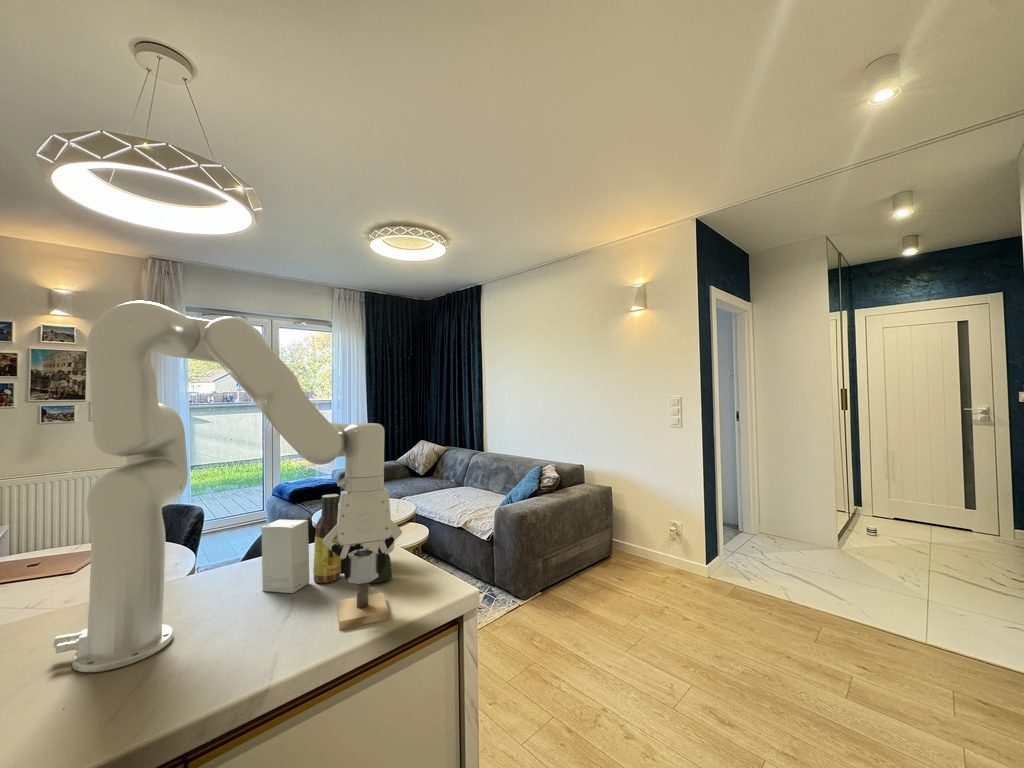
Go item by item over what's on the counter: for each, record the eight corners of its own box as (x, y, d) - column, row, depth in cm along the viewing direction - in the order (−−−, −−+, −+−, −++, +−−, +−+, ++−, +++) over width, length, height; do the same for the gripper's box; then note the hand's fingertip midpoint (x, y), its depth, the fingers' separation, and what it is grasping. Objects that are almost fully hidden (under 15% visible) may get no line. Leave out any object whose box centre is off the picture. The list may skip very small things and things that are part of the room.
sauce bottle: (330, 585, 96) (332, 499, 97) (307, 583, 97) (309, 498, 98) (347, 574, 102) (349, 493, 103) (324, 572, 103) (326, 492, 104)
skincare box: (309, 583, 97) (311, 519, 98) (291, 595, 91) (293, 526, 92) (278, 580, 99) (280, 517, 99) (258, 591, 93) (260, 524, 93)
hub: (348, 585, 80) (349, 560, 80) (347, 574, 85) (347, 550, 85) (379, 580, 82) (379, 555, 82) (375, 569, 87) (376, 546, 88)
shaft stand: (339, 629, 77) (339, 591, 78) (337, 608, 85) (337, 573, 86) (388, 619, 81) (389, 582, 81) (382, 599, 89) (382, 566, 90)
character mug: (404, 581, 98) (405, 526, 99) (378, 592, 93) (379, 533, 93) (378, 569, 105) (379, 518, 106) (352, 579, 100) (353, 524, 100)
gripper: (318, 491, 77) (316, 589, 77) (410, 483, 85) (409, 573, 84) (318, 484, 84) (316, 574, 83) (403, 477, 91) (402, 560, 91)
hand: (363, 572), depth 84 cm, fingers closed on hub, 5 cm apart
